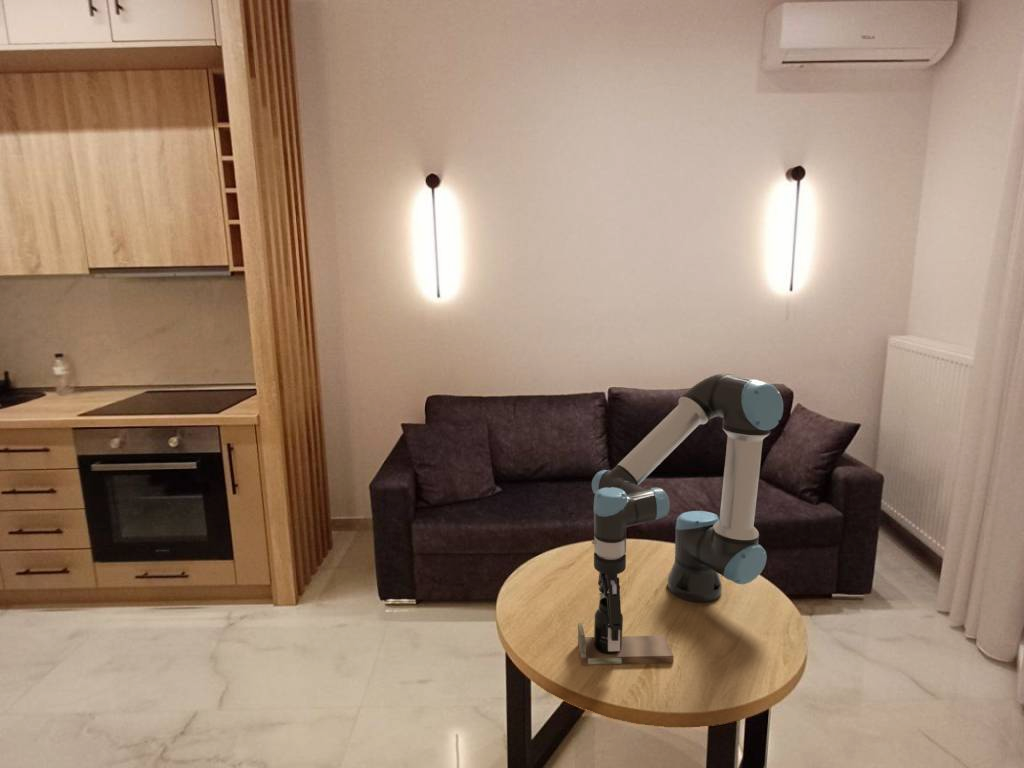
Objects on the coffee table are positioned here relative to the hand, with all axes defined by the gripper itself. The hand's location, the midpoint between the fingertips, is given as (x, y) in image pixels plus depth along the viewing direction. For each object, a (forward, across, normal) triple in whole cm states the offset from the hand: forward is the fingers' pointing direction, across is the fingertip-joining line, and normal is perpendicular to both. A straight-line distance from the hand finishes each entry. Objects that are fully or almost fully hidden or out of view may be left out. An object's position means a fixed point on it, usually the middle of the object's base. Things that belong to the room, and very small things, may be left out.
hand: (609, 632), depth 150 cm
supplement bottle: (+4, 0, 0) cm, 4 cm away
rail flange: (+6, 0, +4) cm, 7 cm away
